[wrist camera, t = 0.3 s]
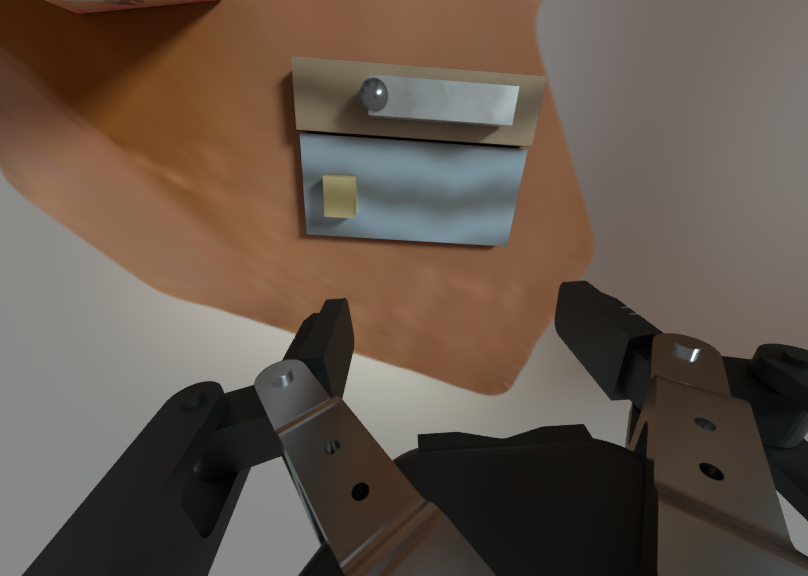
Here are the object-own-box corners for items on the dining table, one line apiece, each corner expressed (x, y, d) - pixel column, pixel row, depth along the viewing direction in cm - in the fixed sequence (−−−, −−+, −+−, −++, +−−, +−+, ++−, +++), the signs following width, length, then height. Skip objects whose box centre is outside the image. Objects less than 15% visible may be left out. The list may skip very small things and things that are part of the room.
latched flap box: (300, 64, 31) (281, 48, 26) (534, 82, 32) (559, 70, 27) (311, 230, 38) (297, 242, 33) (502, 241, 39) (516, 255, 34)
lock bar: (364, 117, 30) (359, 113, 27) (364, 80, 29) (359, 72, 25) (502, 127, 30) (514, 125, 27) (508, 91, 29) (521, 84, 26)
